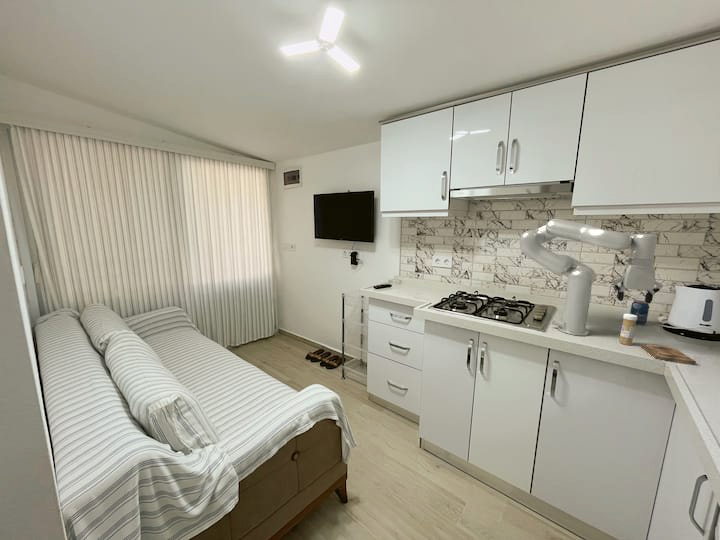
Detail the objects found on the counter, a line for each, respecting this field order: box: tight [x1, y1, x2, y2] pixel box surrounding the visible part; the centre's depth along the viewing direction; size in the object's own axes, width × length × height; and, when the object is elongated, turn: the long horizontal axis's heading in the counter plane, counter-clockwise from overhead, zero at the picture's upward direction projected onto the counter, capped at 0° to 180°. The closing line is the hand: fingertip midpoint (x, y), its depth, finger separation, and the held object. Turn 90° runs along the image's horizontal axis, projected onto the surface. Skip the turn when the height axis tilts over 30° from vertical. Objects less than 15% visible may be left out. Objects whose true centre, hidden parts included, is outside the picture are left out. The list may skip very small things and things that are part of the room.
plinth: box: [639, 344, 697, 366], centre depth 123 cm, size 12×12×2 cm
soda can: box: [629, 300, 650, 326], centre depth 162 cm, size 7×7×12 cm
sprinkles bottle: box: [618, 313, 637, 346], centre depth 134 cm, size 5×5×14 cm
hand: (633, 301), depth 131 cm, fingers open, 9 cm apart
